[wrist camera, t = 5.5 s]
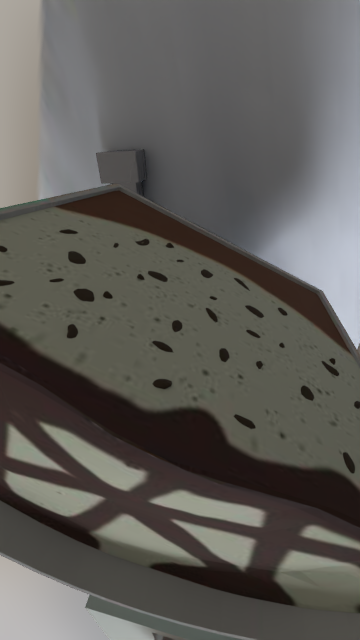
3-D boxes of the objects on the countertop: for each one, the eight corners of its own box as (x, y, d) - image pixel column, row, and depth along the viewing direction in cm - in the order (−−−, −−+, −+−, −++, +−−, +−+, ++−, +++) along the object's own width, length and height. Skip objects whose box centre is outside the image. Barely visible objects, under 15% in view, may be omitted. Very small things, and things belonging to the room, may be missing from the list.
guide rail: (143, 149, 13) (134, 151, 12) (170, 402, 22) (166, 415, 21) (107, 151, 14) (96, 153, 13) (148, 399, 23) (143, 411, 22)
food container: (56, 288, 15) (-189, 488, 7) (82, 164, 11) (-373, 257, 3) (268, 392, 16) (288, 682, 7) (353, 307, 12) (567, 674, 4)
